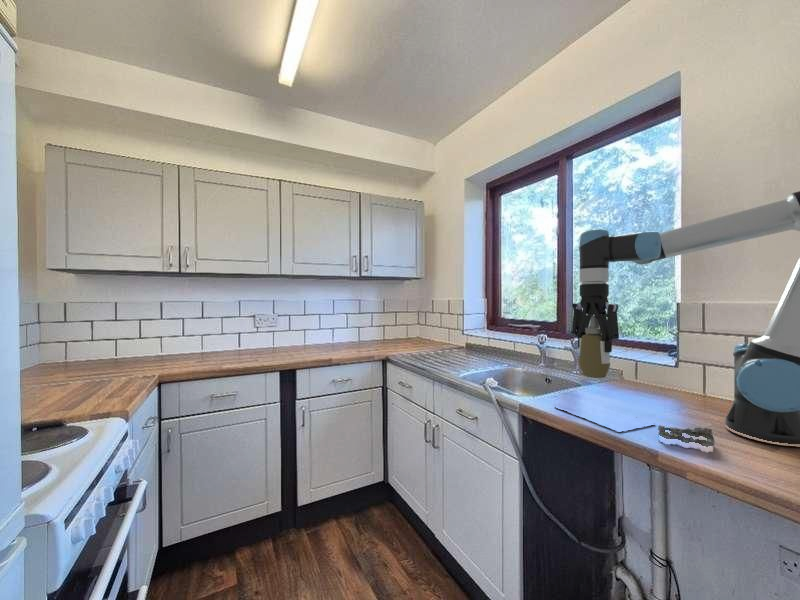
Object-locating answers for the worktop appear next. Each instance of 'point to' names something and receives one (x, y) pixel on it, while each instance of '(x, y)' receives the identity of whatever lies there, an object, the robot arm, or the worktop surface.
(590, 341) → the squeeze bottle
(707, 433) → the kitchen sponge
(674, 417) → the worktop surface
